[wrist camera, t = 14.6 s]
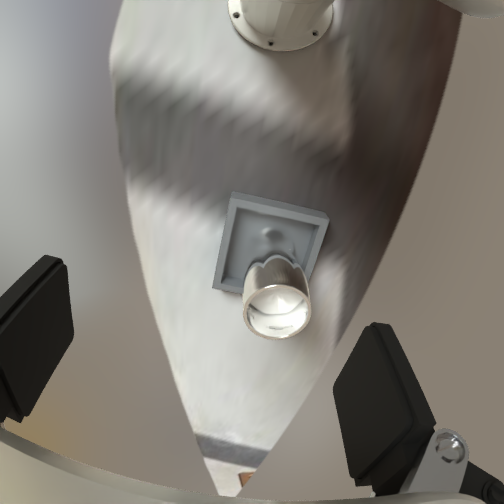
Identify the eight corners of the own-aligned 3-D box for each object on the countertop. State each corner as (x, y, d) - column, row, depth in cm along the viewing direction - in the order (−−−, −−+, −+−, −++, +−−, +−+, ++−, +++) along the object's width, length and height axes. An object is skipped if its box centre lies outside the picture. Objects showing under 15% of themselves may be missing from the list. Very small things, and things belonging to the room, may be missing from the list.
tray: (232, 190, 41) (230, 197, 39) (324, 212, 43) (329, 220, 40) (214, 277, 47) (212, 288, 44) (297, 293, 48) (300, 304, 45)
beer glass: (270, 279, 46) (275, 351, 33) (234, 247, 44) (225, 314, 31) (307, 247, 44) (328, 313, 31) (271, 212, 42) (279, 269, 29)
